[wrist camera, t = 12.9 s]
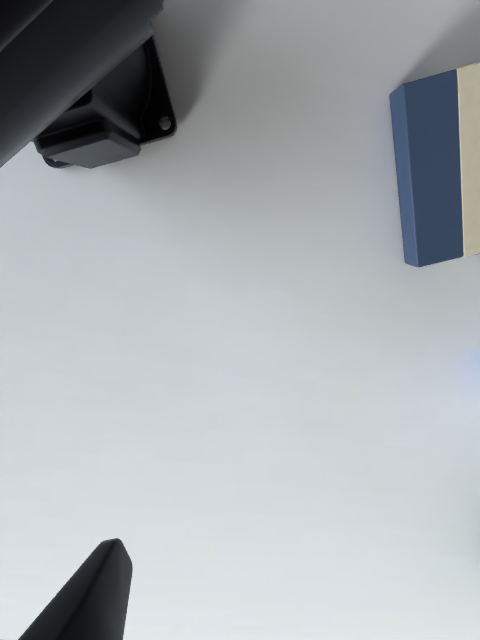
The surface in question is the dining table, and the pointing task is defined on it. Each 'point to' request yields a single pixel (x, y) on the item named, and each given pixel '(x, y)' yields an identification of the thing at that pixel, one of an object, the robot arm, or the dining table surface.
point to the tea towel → (438, 164)
